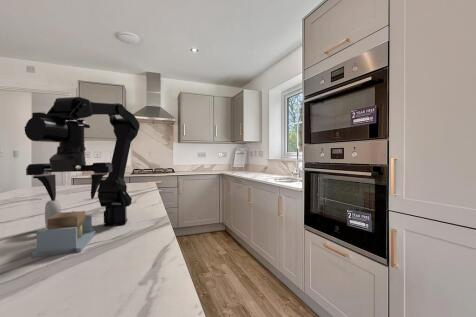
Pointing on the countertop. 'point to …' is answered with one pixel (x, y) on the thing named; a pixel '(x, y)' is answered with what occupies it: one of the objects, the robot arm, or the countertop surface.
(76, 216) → the walnut block
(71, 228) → the peg stand
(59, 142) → the robot arm
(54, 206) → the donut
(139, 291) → the countertop surface
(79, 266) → the countertop surface
